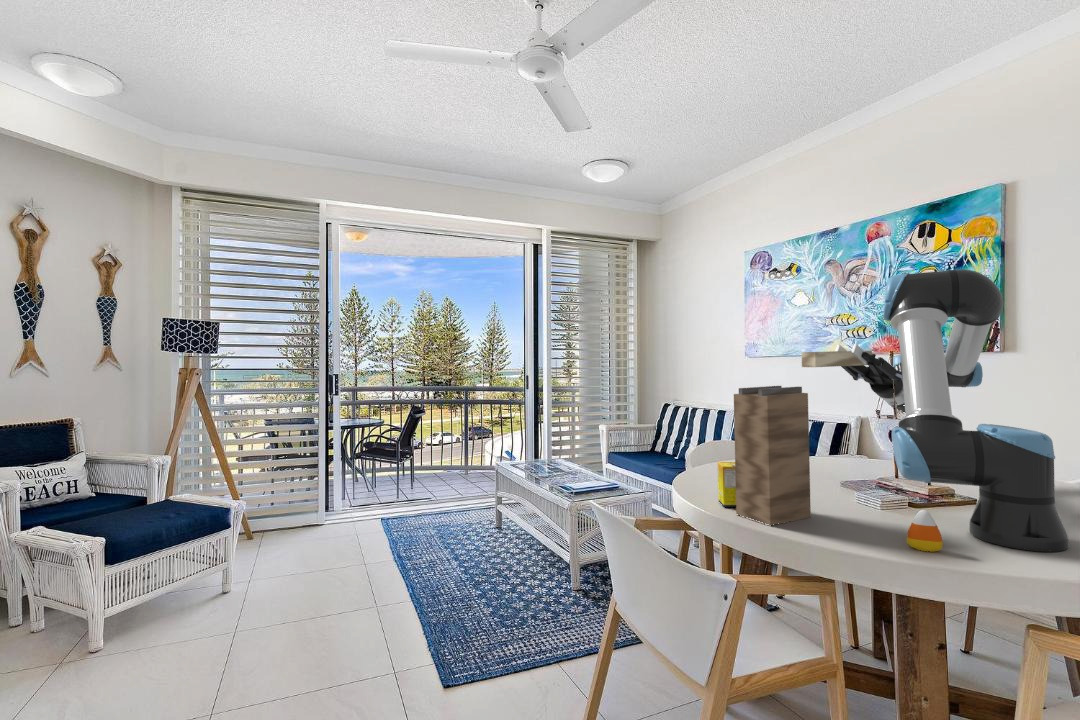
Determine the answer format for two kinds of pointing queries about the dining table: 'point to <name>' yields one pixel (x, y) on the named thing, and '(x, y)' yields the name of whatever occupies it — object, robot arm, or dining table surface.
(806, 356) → the maple bar
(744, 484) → the walnut stand
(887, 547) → the dining table surface
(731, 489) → the supplement box
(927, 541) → the candy corn
